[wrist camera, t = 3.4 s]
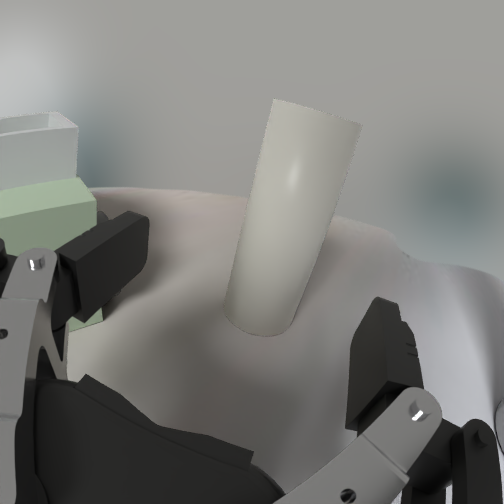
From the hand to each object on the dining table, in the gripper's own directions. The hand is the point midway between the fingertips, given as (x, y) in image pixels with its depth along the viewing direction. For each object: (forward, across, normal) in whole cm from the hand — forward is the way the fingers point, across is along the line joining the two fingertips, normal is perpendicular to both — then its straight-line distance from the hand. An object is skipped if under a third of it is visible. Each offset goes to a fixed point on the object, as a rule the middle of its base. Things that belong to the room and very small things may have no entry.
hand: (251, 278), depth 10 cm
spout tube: (+9, 0, +8) cm, 12 cm away
